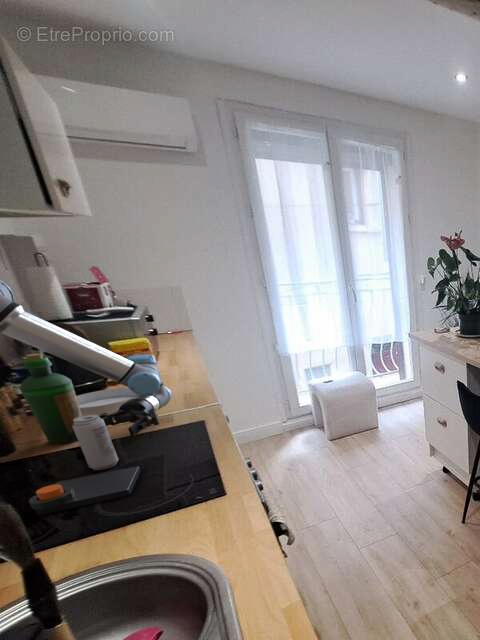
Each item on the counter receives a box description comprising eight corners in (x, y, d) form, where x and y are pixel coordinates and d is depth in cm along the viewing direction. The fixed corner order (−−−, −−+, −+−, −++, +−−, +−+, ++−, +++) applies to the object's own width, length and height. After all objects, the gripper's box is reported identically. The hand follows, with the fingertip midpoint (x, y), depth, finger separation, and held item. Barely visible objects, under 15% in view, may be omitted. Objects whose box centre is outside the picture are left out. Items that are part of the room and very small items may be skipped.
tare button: (36, 502, 95) (32, 495, 94) (43, 494, 98) (39, 487, 97) (61, 497, 97) (57, 490, 96) (66, 489, 100) (63, 482, 99)
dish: (137, 414, 151) (133, 401, 150) (53, 425, 141) (47, 412, 139) (153, 396, 169) (149, 384, 168) (79, 404, 159) (74, 392, 157)
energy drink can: (101, 461, 119) (82, 414, 114) (125, 460, 120) (107, 413, 115) (84, 471, 114) (63, 422, 108) (109, 470, 115) (90, 421, 109)
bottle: (96, 437, 133) (63, 354, 124) (48, 449, 125) (8, 361, 115) (88, 429, 139) (56, 348, 129) (41, 440, 131) (3, 355, 121)
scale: (30, 519, 94) (23, 506, 93) (53, 488, 106) (48, 477, 105) (129, 497, 103) (124, 485, 102) (140, 471, 115) (136, 460, 113)
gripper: (86, 402, 130) (37, 428, 111) (181, 394, 138) (151, 418, 119) (94, 423, 132) (48, 452, 114) (187, 414, 141) (159, 441, 122)
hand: (101, 435), depth 117 cm, fingers open, 13 cm apart
